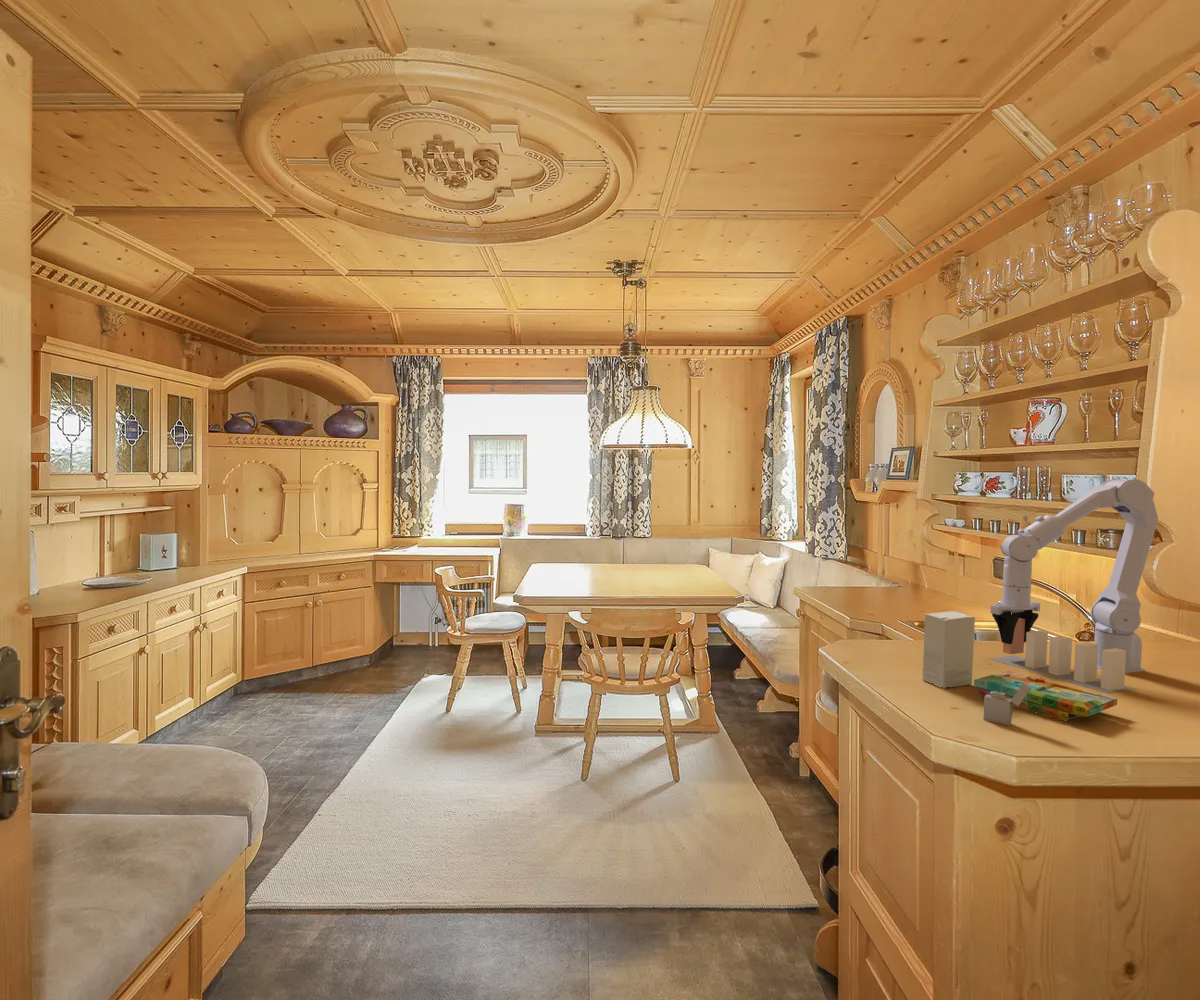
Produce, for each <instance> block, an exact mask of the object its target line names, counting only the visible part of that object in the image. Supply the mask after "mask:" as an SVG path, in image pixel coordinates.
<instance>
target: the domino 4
mask: <svg viewBox="0 0 1200 1000" xmlns="http://www.w3.org/2000/svg"><path fill="white" fill-rule="evenodd" d="M1074 645H1075V648H1074V666H1073V667H1074V668H1073V672H1074V680H1075V681H1078V682H1082V683H1085V682H1092V681H1096V678H1098V677H1097V676H1098V668H1097V660H1098V644H1095V643H1094V642H1090V641H1086V642H1078V643H1077V642H1076V643H1075V644H1074Z"/></svg>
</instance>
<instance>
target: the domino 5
mask: <svg viewBox="0 0 1200 1000" xmlns="http://www.w3.org/2000/svg"><path fill="white" fill-rule="evenodd" d="M1125 664H1126V650H1121V649H1117V648H1114V649H1106V650H1103V651H1102V669H1100V671H1101V672H1100V673H1101V674H1100V679H1101V688H1103V689H1107V690H1110V691H1112V690H1118V689H1124V686H1125V678H1126V673H1125Z"/></svg>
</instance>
